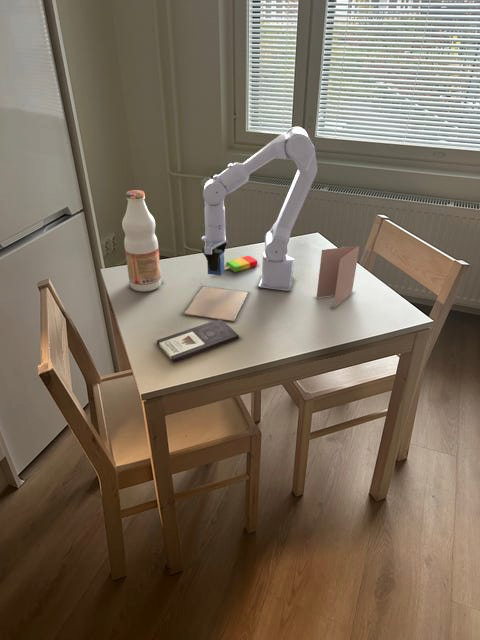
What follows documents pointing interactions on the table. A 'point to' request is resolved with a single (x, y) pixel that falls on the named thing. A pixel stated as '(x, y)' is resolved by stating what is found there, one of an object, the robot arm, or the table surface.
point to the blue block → (220, 266)
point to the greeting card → (337, 272)
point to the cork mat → (217, 304)
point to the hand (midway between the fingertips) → (216, 267)
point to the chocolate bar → (197, 340)
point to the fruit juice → (141, 244)
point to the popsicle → (241, 263)
